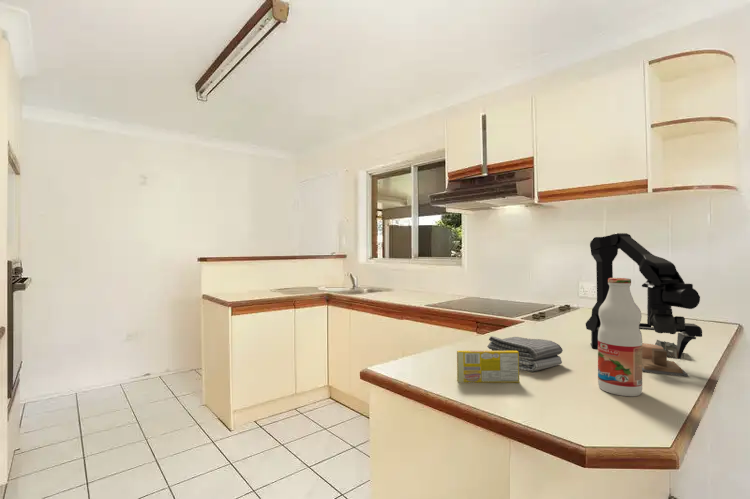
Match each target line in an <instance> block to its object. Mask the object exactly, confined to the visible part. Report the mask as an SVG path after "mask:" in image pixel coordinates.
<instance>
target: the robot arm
mask: <svg viewBox="0 0 750 499" xmlns="http://www.w3.org/2000/svg"><path fill="white" fill-rule="evenodd" d="M589 247H590V254H591V257H592V259H593V260H595V263H596V264H595V266H596V268H595V269H596V271H595V272H596V303H595V304H594V306H593V307H592V309H591V316H590V317H589V318H588V319H587V321H586V322H585V328H586V330H588V331H590V334H591V335H590V342H591V343H590V347H591V349H597V350H598V330H599V327H600V325H601V322H600V318H599V308H600V306H601V305H602V303H603V302H604V301H605V299H606V297H607V294H608V291H609V285H608V278H614V276H613V275H614V273H613V272H614V271H613V270H614V268H613V262H614V261H615V259H616V258H617V256H618V252H619V251H618V250H619V249H620V250H621V251H622V252H623V254H625V255H626V256H628V257H629V258H630V259H631V260H633V262H634V263H636V264H637V266H638V270H639V272H640V273H641V275H642V276H643V278H644V279H645V280H646V281H645V282H644V283H642V285H641V287H642V288H647V290H646V291H647V294H646V295H647V298H646V299H647V302H646V303H647V306H646V311H647V315H646V316H647V320H646V321H647V322H646V323H645V322H642V323H641V322H640V325H639V329H640V330H646V331H654V332H655V333H657V334H670V335H676V334H677V340H676V343H677V344H676V345H677V358H676V359H678V360H681V355H682V353H684V351H685V349H686V347H687V345H688V343H689V342H690V341H692V340H696V339H697V337H700V338H701V337H703V330H702V328H701V326H699V325H697V324H696V323H690V322H688V323H686V319H685V316H681V315H679V316H678V315H676V316H674V315H673V309H672V307H676V308H679V309H680V308H681V309H686V310H687V309H688V310H693V309H695V308H697V307H698V306H699V304H700V303H701V302H700V301H701V296H700V295H699V291H697V290H696V289H695V288H694V284H693V283H685V281H684V279H683V278H682V276H681V275H680V273H679V271H678V270H677V267H676V265H675V263H674V262H671V261H670V260H667V259H666V258H664V257H660V256H656V255H655V254H653V253H652V252H650V251H649V250H648V249H646V248H645V247H644V246H643V245H641V244H640V243H639V242H638V241H636V240H635V239H634V238H633V237H632V236H631V235H630V234H629V233H625V232H619V233H618V232H615V233H613V234H610V235H605V236H595V237H593V239H592V240H590V242H589Z"/></svg>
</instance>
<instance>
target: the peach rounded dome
mask: <svg viewBox="0 0 750 499" xmlns="http://www.w3.org/2000/svg"><path fill="white" fill-rule="evenodd" d="M652 348H654V349H663V347H661V346H658V345H655V344H653V343H645V342H644V343H643V342H642V358H644V359H652Z"/></svg>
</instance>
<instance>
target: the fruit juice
mask: <svg viewBox="0 0 750 499" xmlns="http://www.w3.org/2000/svg"><path fill="white" fill-rule="evenodd" d="M608 285H609V291H608V294H607V297H606V299H605V301H604V302H603V303H602V305H601V306H600V308H599V318H600V322H601V325H600V327H599V330H598V349H597V385H598V387H599V389H600V390H602V391H604V392H606V393H609V394H612V395H616V396H623V397H638V396H640V395H642V392H643V372H642V343H643V335H642V332H641V329H639V325H640V323H641V321H642V311H641V309H640V308H639V306H638V305H637V303H636V302H635V300H634V298H633V295H632V292H631V288H630V287H631V285H632V279H631V278H625V277H613V278H608Z"/></svg>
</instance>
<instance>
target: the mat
mask: <svg viewBox="0 0 750 499" xmlns="http://www.w3.org/2000/svg"><path fill="white" fill-rule="evenodd" d="M681 369H682V370H683V373H674V372H665V371H656V370H646V369H644V368H643V367H642V371H645V372H644V373H650V372H653V373H652V374H660V373H661V375H669V374H672V375H671V376H678V375H684V376H683V377H687V376H688V377H689V374H688V373H687V372H686V371H685V370H684V369H683V368H681Z"/></svg>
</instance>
